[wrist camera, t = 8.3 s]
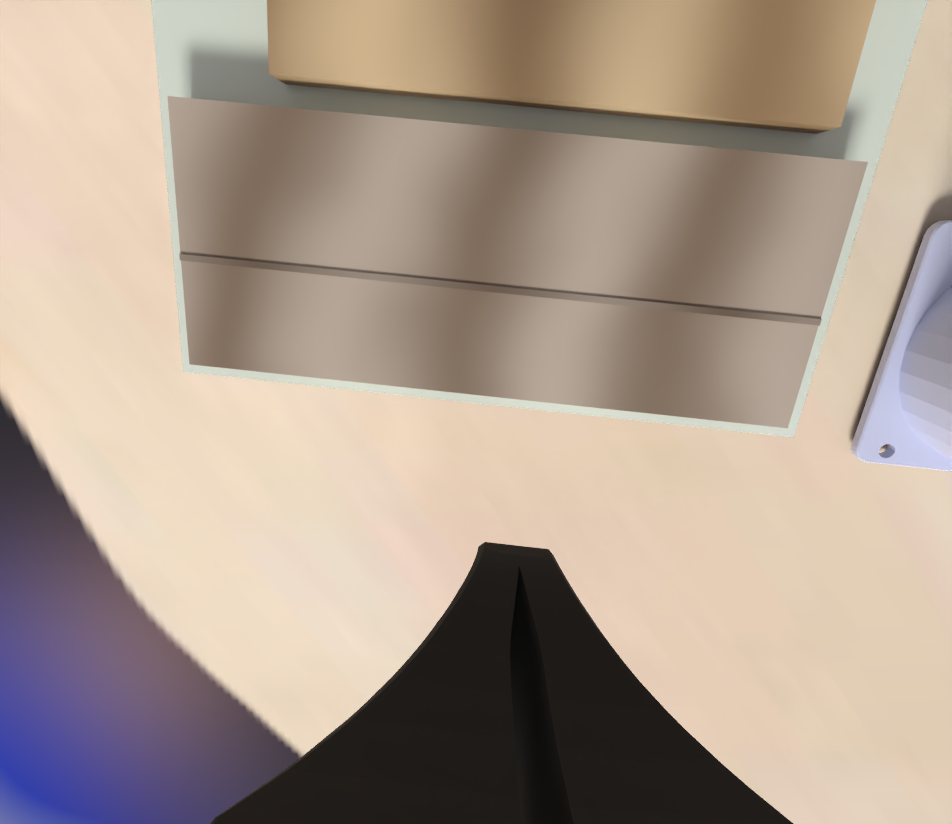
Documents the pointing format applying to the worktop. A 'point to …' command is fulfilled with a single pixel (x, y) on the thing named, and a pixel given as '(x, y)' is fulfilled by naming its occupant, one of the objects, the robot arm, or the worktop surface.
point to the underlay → (248, 81)
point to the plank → (587, 55)
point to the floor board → (505, 259)
